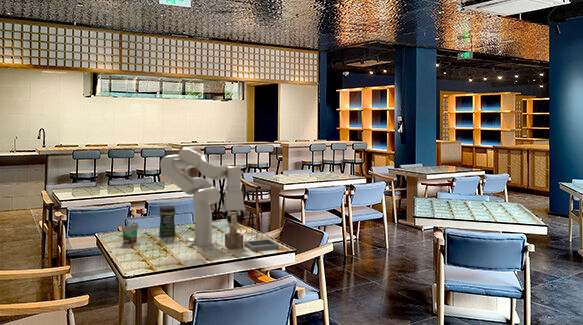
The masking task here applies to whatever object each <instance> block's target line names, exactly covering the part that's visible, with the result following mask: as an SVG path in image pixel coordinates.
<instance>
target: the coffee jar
mask: <svg viewBox="0 0 583 325" xmlns="http://www.w3.org/2000/svg"><path fill="white" fill-rule="evenodd" d="M158 213H159V217H160V218H159V219H160V220H159V228H158V229H159V230H158V231H159V232H158V234H159V237H163V238H166V237H167V238H169V237H174V236H176V226H175V224H176V223H175V215H176V207H175V206H174V205H160V206H159V211H158Z"/></svg>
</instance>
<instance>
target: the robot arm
mask: <svg viewBox="0 0 583 325" xmlns="http://www.w3.org/2000/svg"><path fill="white" fill-rule="evenodd" d="M208 160H209V159H208V156H207V155H205V154H203V152H202V150H201V149H200V148H198V147H195V146H191V147H189V146H188V147H183V148H181V149H180V150H179V153H178V154H170V155H165V156H164V157H163V158H161V160H160V163H159V164H160V170H161V172H162V174H163V176H164V177H165V178H166V179H168V180H169V181H170V182H172V183H173V184H174V185H175V186H176V187H177V188H178V189H180V190H181V191H182V192H183V193H185V194H186V195H189V196H191V195H192V203H193V211H194V235H193V237H192V238H186V239H185V242H186V243H191V244H192V245H194V246H197V247H198V246H211V245H214V244H215V243H216V242H215V241H214V240H213V216H212V215H213V213H212V209H211V206H210V205H213V204H217V203H218V202H219V201H220V200H221V193H220V190H218V188H217V187H216V186H215V185H213V184H212V183H211V182H210V181H208V180H207V179H205V178H203V177H199V176H197V177H191V176H189V175H188V174H187V173H185V172H184V171H183V170H181V169H185V168H188V167H191V166H192V167H193V168H195V169H197V170H198V172H200V174H201V175H203V176H204V177H207V178H209V179H210V180H215V181H220V180H226V186H225V187H223V189H224V191H225V193H224V200H223V201H224V202H223V206H222V207H221V209H220V210H221V212H223V213H224V214H226V215H227V216H226V222H227V223H228V224H230V223H231V216H230V212H234V211H235V212H237V224H238V223H240V221H241V219H240V218H241V215H242V214H243V213H244V211H246V210H247V208H246V206H245V204H244V203H245V202H244V195H243V191H241V189H242V169H241V167H240V166H237V165H232V166H231V165H227V164H223V165H213V164H211V163H210V162H208Z"/></svg>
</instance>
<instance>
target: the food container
mask: <svg viewBox="0 0 583 325" xmlns="http://www.w3.org/2000/svg"><path fill="white" fill-rule="evenodd" d="M139 226H140V225H139V224H138V223H137V222H132V223H131V224H127V225H124V226H123V225H122V226H121V231H122V232H121V233H122V243H123V244H133V243H135V242H136V243H137V240H138V228H139Z"/></svg>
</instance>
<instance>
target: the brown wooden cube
mask: <svg viewBox="0 0 583 325" xmlns="http://www.w3.org/2000/svg"><path fill="white" fill-rule="evenodd" d="M224 247H225V248H227V250H229V251H230V250H236V249H237V250H240V249H244V234H243V233H240V232H238V231H237V236H230V232H228V233H227V232H226V233H224Z"/></svg>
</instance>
